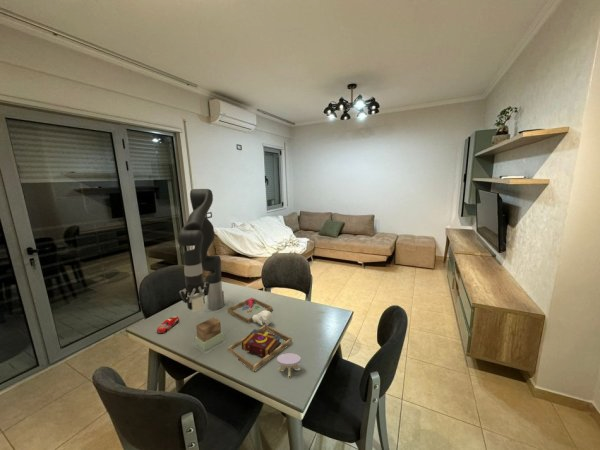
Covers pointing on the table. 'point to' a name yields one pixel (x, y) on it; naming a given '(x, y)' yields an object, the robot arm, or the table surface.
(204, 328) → the walnut brick
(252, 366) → the book tray
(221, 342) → the baseplate
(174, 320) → the race car
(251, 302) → the toy pieces
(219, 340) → the base brick
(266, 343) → the decorative book
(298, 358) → the toy table
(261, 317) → the cream lumpy sculpture
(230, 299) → the table surface
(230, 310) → the pieces tray
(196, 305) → the cream brick
